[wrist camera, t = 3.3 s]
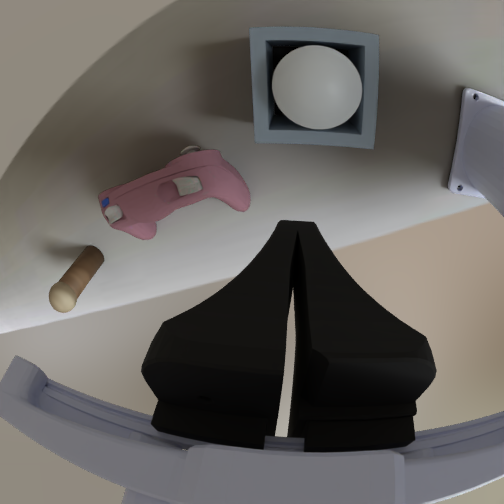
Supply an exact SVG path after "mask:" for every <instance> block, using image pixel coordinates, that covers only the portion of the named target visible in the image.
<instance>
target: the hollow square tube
mask: <svg viewBox="0 0 504 504" xmlns="http://www.w3.org/2000/svg"><path fill="white" fill-rule="evenodd" d="M249 35H250V54H251V73H252V94H253V115H254V136H255V143H281V144H311V145H328V146H342V147H354V148H365V149H374V142H375V131H376V119H377V104H378V83H379V35H376V34H370V33H364V32H357V31H349V30H340V29H329V28H314V27H252V28H249ZM311 45H318V46H325V47H329V48H333V49H344V50H348V59H349V60H350V61H351V62H352V64H353V65H354V66H355V68H356V69H357V71H358V73H359V76H360V79H361V83H362V97H361V101H360V104H359V106H358V108H357V110H356V112H355V113H354V114H353V115H352V116H351V117H350V118H349V119H348V120H347V121H345V122H344V123H342V124H340V125H338V126H336V127H333V128H329V129H311V128H306V127H303V126H301V125H299V124H297V123H295V122H293V121H292V120H290V119H289V118H288V117H287V116H286V115H275V112H274V95H273V91H272V79H273V52H272V46H298V47H304V46H311Z"/></svg>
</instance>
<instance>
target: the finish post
mask: <svg viewBox="0 0 504 504" xmlns="http://www.w3.org/2000/svg"><path fill="white" fill-rule="evenodd" d="M103 262H104V256H103V254H102V253H101V251H100V250H99V249H98V248H96V247H94V246H87V247H86V249H85V250H84V251H83V252H82V253H81V254H80V256H79V257H78V258H77V259H76V260H75V262H74V263H73V264H72V265H71V267H70V268H69V269H68V270H67V271H66V273H65V274H64V275H63V277H62V278H61V279H60V280H59V282H57V283H55V284H54V285H53V286H52V287H51V289H50V292H49V301H50V304H51V306H52V307H53V308H54V309H55V310H56V311H58V312H62V313H66V312H69V311H71V310H72V309H73V308H74V307H75V305H76V302H77V298H78V297H79V295H80V294H81V293H82V291H83V290H84V288H85V287H86V285H87V284H88V283H89V281H90V280H91V278H92V277H93V276H94V274H95V273H96V272H97V270H98V269H99V267H100V266H101V265H102V263H103Z"/></svg>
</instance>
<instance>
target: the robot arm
mask: <svg viewBox="0 0 504 504" xmlns="http://www.w3.org/2000/svg"><path fill="white" fill-rule="evenodd" d="M474 94H475V95H476V99H475V100H474V98H473V95H474ZM459 185H461V186H460V188H459V189H457V188H458V186H459ZM448 189H449V190H450V191H451V192H452V193H456V194H462V195H468V196H474V197H480V198H485V199H487V200H488V201H489V202H490V203H491V204H492V205H493V206H494V207H495V208H496V209H497V210H498V211H499V212H500V213H501V215H502V216H503V217H504V101H503V100H500V99H498V98H495V97H493V96H490V95H488V94H485V93H482V92H480V91H477V90H474V89H471V88H465V89H464V90H463V94H462V104H461V113H460V121H459V129H458V135H457V142H456V147H455V153H454V158H453V163H452V168H451V173H450V177H449V182H448ZM292 290H293V293H294V311H295V329H296V347H295V362H294V375H293V387H292V397H291V408H290V417H289V426H288V435H287V437H276V436H275V431H276V425H277V419H278V413H279V406H280V398H281V391H282V384H283V376H284V366H285V352H286V336H287V320H288V314H289V308H290V302H291V297H292ZM141 372H142V375H143V376H144V379H145V381H146V382H147V384H148V385H149V387H150V388H151V390H152V391H153V393H154V394H155V396H156V397H157V398H158V402H157V405H156V408H155V411H154V414H153V416H151V415H148V414H144V413H140V412H137V411H133V410H130V409H127V408H124V407H121V406H118V405H114V404H111V403H108V402H105V401H103V400H100V399H97V398H94V397H91V396H89V395H86V394H84V393H81V392H79V391H76V390H74V389H71V388H69V387H67V386H64V385H62V384H60V383H57V382H55V381H53V380H51V379H49V378H48V377H47V376H46V375H45V373H44V372H43V371H42V370H41V369H40V368H39V367H37V366H36V365H35V364H33V363H31V362H29V361H27V360H25V359H23V358H21V357H19V356H15V357H14V359H13V361H12V362H11V364H10V366H9V367H8V369H7V371H6V373H5V375H4V376H3V378H2V380H1V382H0V417H2V418H3V419H5V420H6V421H7V422H8V423H10V424H11V425H12V426H14V427H15V428H16V429H18V430H19V431H21V432H22V433H24V434H25V435H26V436H28V437H30V438H31V439H32V440H34V441H36V442H37V443H39V444H40V445H42V446H43V447H45V448H46V449H48V450H50V451H51V452H53V453H55V454H57V455H58V456H60V457H62V458H64V459H66V460H67V461H69V462H71V463H73V464H75V465H77V466H79V467H80V468H82V469H84V470H87V471H88V472H91V473H93V474H95V475H97V476H99V477H101V478H104V479H106V480H108V481H111V482H113V483H115V484H118V485H120V486H123V487H125V488H126V490H125V493H124V497H123V500H122V503H121V504H433V503H437V502H440V501H443V500H446V499H450V498H453V497H456V496H458V495H461V494H464V493H466V492H469V491H472V490H474V489H477V488H479V487H482V486H484V485H486V484H489V483H491V482H493V481H495V480H498V479H500V478H502V477H504V411H503V412H499V413H496V414H493V415H490V416H486V417H482V418H479V419H475V420H471V421H468V422H463V423H460V424H455V425H450V426H446V427H440V428H435V429H429V430H423V431H417V432H415V430H414V422H413V416H414V415H416V412H417V408H416V400H417V399H418V398H419V397H420V396H421V394H422V393H423V392H424V391H425V390H426V389H427V388H428V387H429V385H430V384H431V383H432V381H433V380H434V378H435V375H436V367H435V363H434V359H433V355H432V351H431V348H430V346H429V343H428V341H427V338H426V337H425V336H424V335H422V334H421V333H419V332H418V331H416V330H415V329H413V328H411V327H410V326H408V325H407V324H405V323H404V322H402V321H401V320H399V319H398V318H397V317H395V316H394V315H393V314H391V313H390V312H389V311H387V310H386V309H385V308H383V307H382V306H381V305H380V304H379V303H377V302H376V301H375V300H374V299H373V298H372V297H371V296H370V295H368V294H367V293H366V292H365V291H364V290H363V289H362V288H361V287H360V286H359V285H358V284H357V283H356V282H355V281H354V279H352V277H351V276H350V275H349V274H348V272H347V271H346V270H345V269H344V267H343V266H342V265H341V264H340V262H339V261H338V260H337V258H336V257H335V255H334V254H333V252H332V251H331V249H330V248H329V246H328V245H327V243H326V242H325V240H324V238H323V237H322V235H321V233H320V231H319V229H318V227H317V225H316V224H315V223H314V222H306V221H289V220H281V221H279V222H278V224H277V226H276V228H275V230H274V232H273V233H272V235H271V237H270V238H269V240H268V241H267V242H266V244H265V245H264V247H263V248H262V249H261V251H260V252H259V253H258V254H257V255H256V257H255V258H254V259H253V260H252V261H251V262H250V263H249V265H248V266H247V267H246V268H245V269H244V270H243V271H242V272H241V273H240V274H238V275H237V276H236V277H235V278H234V279H233V280H232V281H231V282H229V283H228V284H227V285H226V286H224V287H223V288H222V289H221V290H219V291H218V292H217V293H215V294H214V295H212V296H211V297H209V298H208V299H206V300H205V301H203V302H202V303H200V304H198V305H196V306H195V307H193V308H191V309H189V310H188V311H185V312H183V313H181V314H179V315H177V316H175V317H173V318H171V319H169V320H167V321H164V322H163V323H162V325H161V327H160V329H159V330H158V332H157V334H156V335H155V337H154V339H153V341H152V343H151V345H150V347H149V350H148V352H147V354H146V357H145V359H144V362H143V364H142V369H141ZM182 449H185V450H182ZM187 450H188V451H187Z"/></svg>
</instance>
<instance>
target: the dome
mask: <svg viewBox="0 0 504 504" xmlns="http://www.w3.org/2000/svg"><path fill="white" fill-rule="evenodd" d="M272 91H273V95H274V99H275V101H276V103H277V105H278V107H279V108H280V110H281V111H282V112H283V113H284V114H285V115H286V116H287V117H288V118H289V119H290V120H292V121H293V122H295V123H297V124H299V125H301V126H303V127H306V128H311V129H329V128H333V127H336V126H338V125H340V124H342V123H344V122H345V121H347V120H348V119H349V118H350V117H351V116H352V115H353V114H354V113H355V112H356V110H357V108H358V106H359V104H360V101H361V97H362V83H361V79H360V76H359V73H358V71H357V69H356V68H355V66H354V65H353V64H352V62H351V61H350V60H349V59H348V58H347V57H346V56H344V55H343V54H341V53H340V52H338V51H336V50H334V49H332V48H329V47H325V46H318V45H311V46H304V47H300V48H298V49H295V50H293V51H292V52H290V53H288V54H287V55H286V56H285V57H284V58H283V59H282V60H281V61H280V62H279V64H278V65H277V67H276V69H275V71H274V74H273V79H272Z"/></svg>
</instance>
